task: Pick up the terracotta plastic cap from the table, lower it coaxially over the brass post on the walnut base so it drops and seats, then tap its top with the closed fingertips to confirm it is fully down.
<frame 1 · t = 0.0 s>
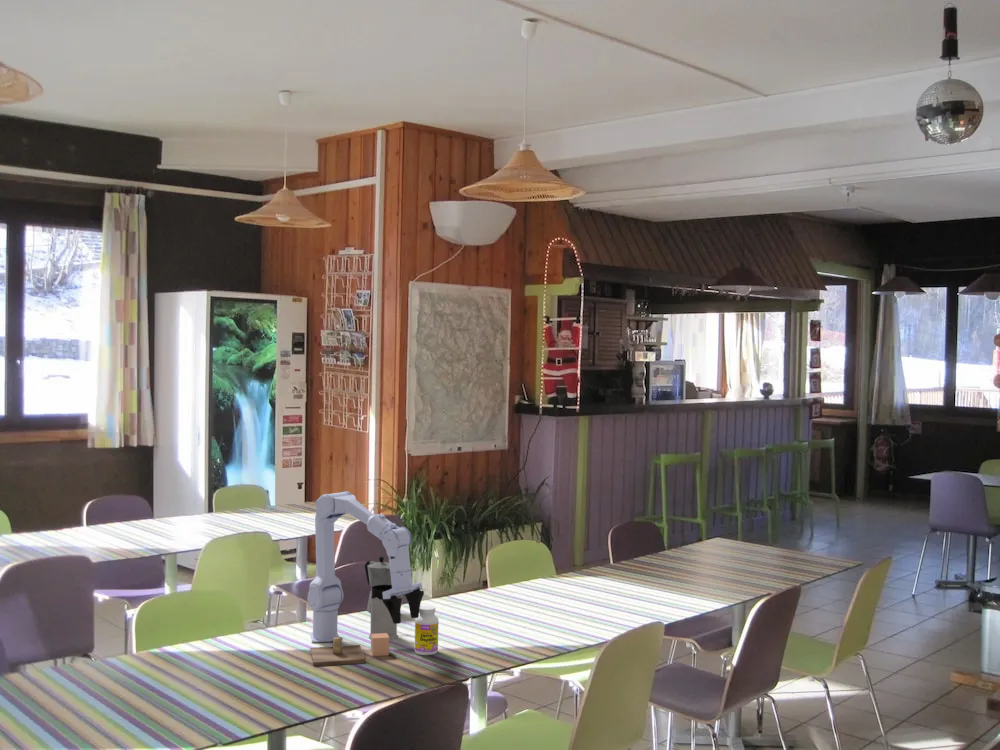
hand: (406, 620, 270), 11 cm above the table, tool pointing down, fingers open, 7 cm apart
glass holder: (388, 635, 293), on the table
cap: (379, 653, 274), on the table
supplement bottle: (426, 653, 275), on the table
coffeepot: (378, 610, 323), on the table
post base: (337, 656, 270), on the table
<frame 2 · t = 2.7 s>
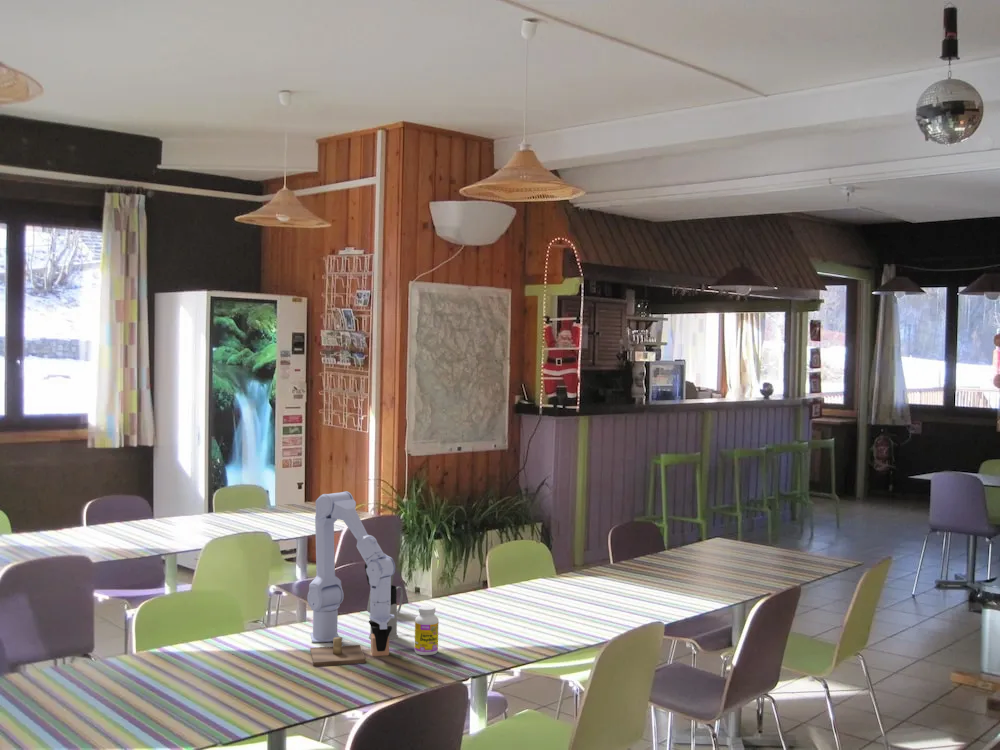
hand: (379, 648, 274), 1 cm above the table, tool pointing down, fingers closed on cap, 5 cm apart
cap: (379, 653, 274), on the table, touching gripper
everything else where it was.
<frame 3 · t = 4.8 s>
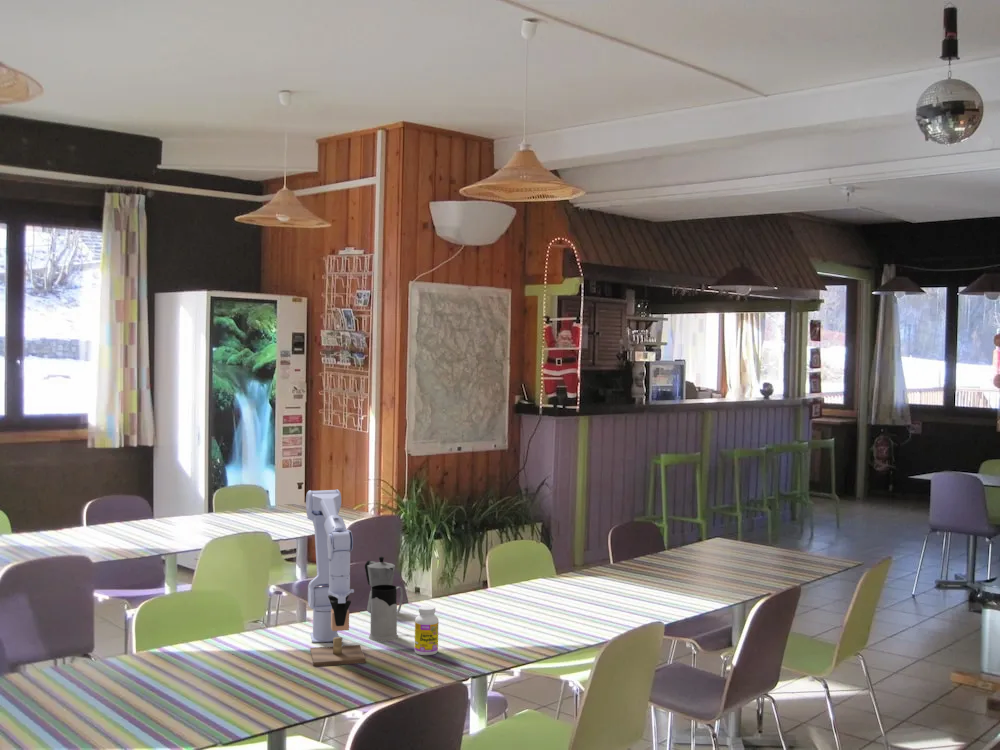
hand: (339, 623, 270), 9 cm above the table, tool pointing down, fingers closed on cap, 5 cm apart
cap: (339, 628, 270), point 8 cm above the table, touching gripper
everything else where it was.
when the fingers open (5 cm above the table, at t = 6.8 s): cap drops 2 cm, resting on post base.
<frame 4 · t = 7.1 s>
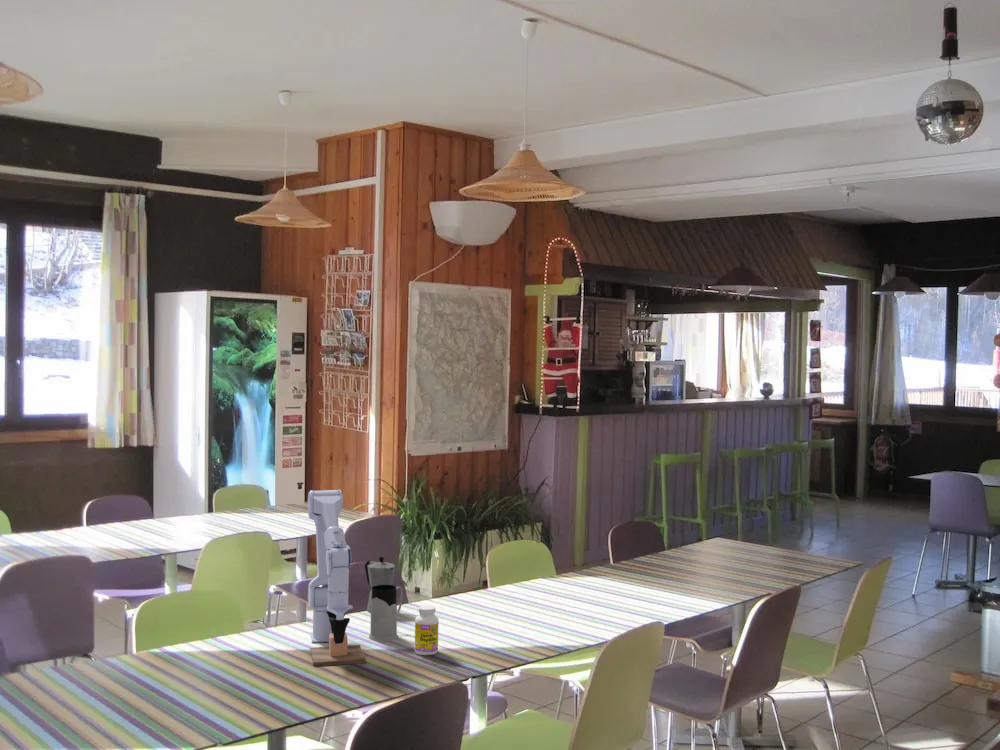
hand: (337, 639, 270), 5 cm above the table, tool pointing down, fingers open, 7 cm apart
cap: (338, 653, 270), point 1 cm above the table, touching post base
everything else where it was.
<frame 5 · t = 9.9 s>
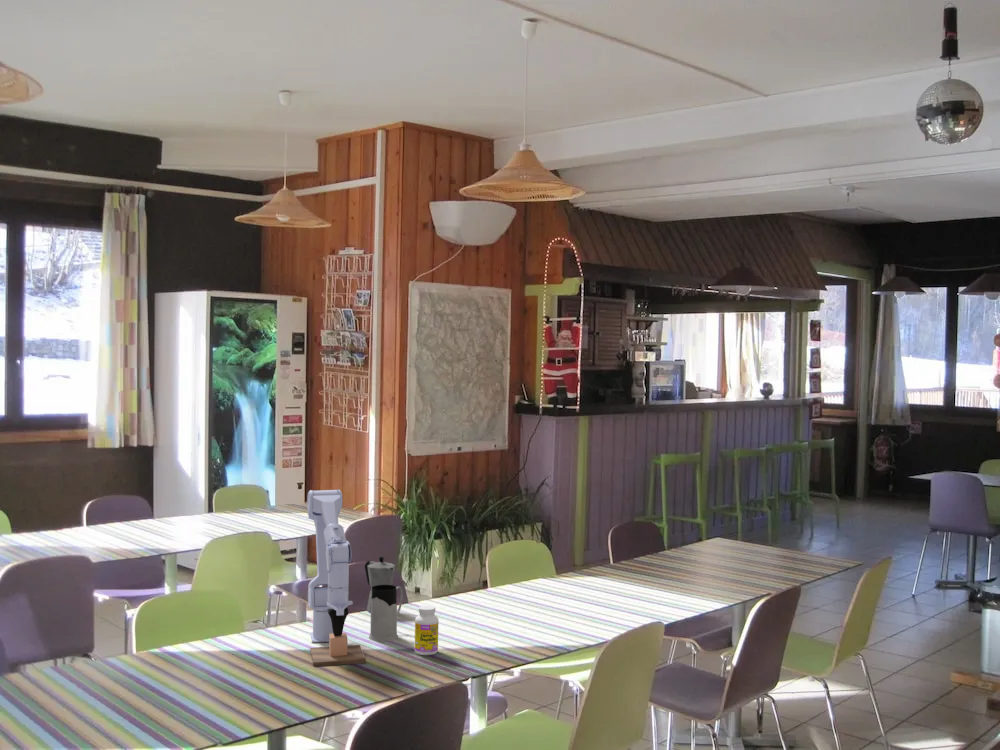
hand: (337, 635, 270), 6 cm above the table, tool pointing down, fingers closed
nothing on the table moved.
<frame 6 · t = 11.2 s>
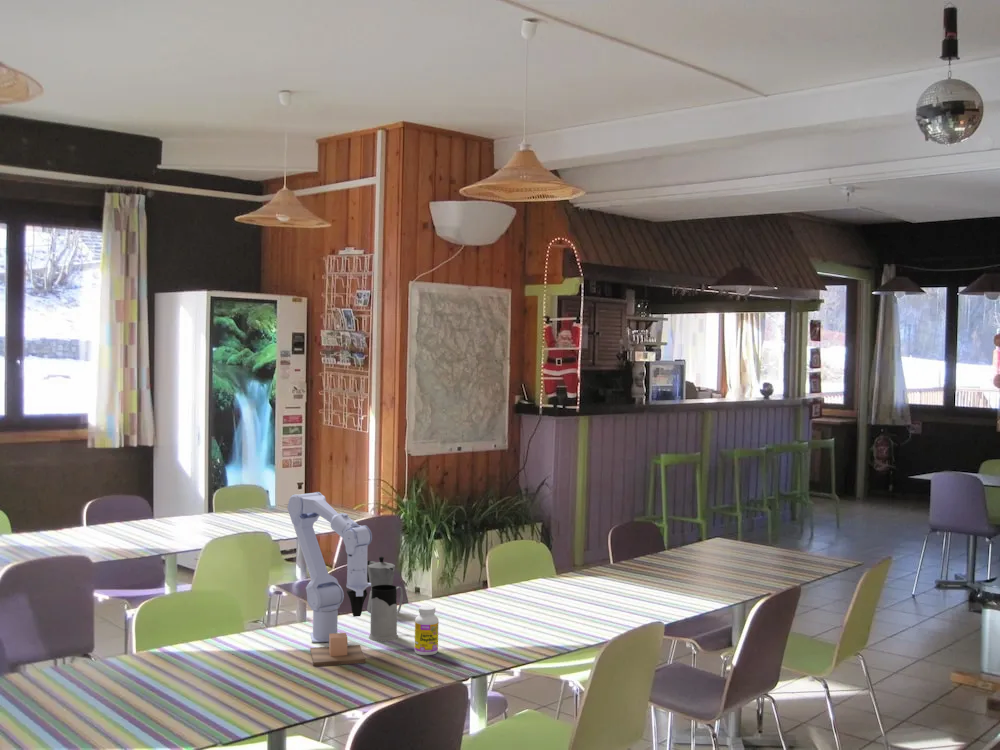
hand: (356, 615, 278), 9 cm above the table, tool pointing down, fingers closed
nothing on the table moved.
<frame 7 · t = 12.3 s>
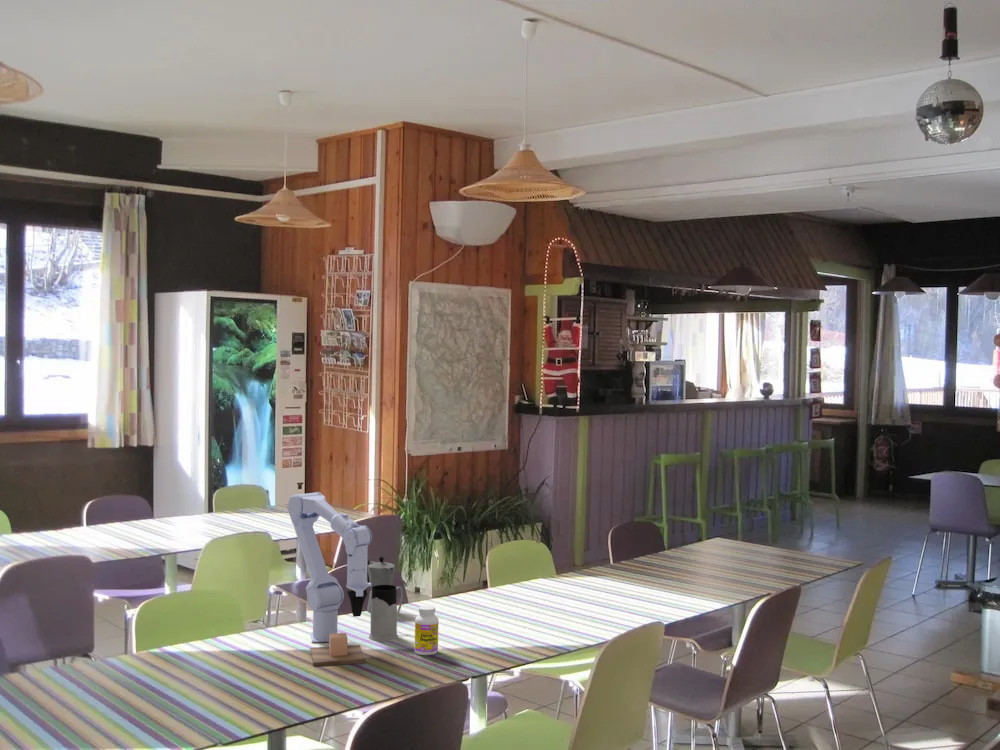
hand: (356, 615, 278), 9 cm above the table, tool pointing down, fingers closed
nothing on the table moved.
at the end: cap 0.2 cm off-centre on the post base, point 1.0 cm above the post base's base; cap tilted 0°; the gripper is holding nothing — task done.
